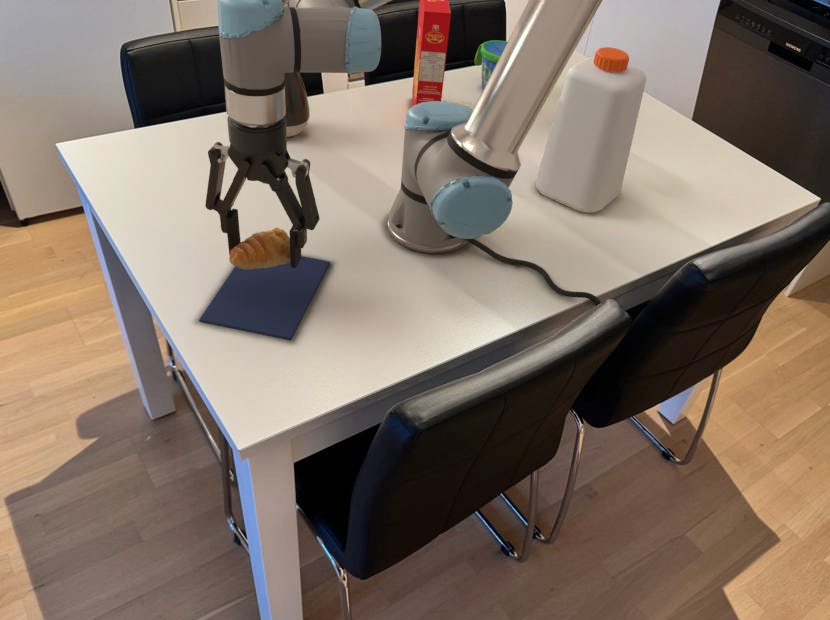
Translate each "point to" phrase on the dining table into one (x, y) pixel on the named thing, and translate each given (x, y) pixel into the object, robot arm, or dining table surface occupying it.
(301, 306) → the cloth mat
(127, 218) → the dining table surface
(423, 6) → the food packaging
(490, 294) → the dining table surface
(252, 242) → the pastry
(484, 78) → the snack cup
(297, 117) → the pump dispenser
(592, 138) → the plastic bottle
